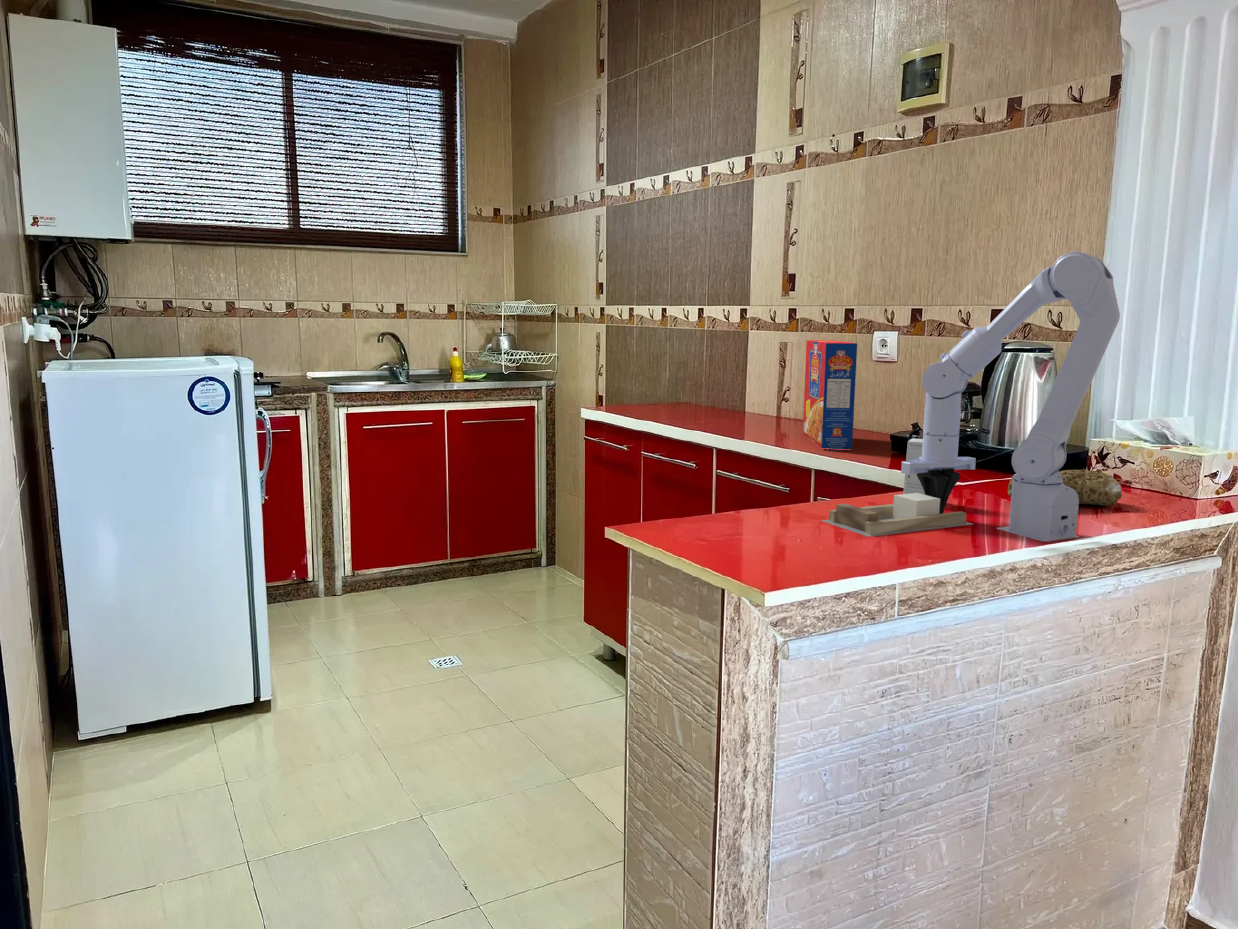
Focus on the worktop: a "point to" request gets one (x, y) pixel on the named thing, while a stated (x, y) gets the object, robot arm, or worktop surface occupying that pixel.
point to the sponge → (1089, 486)
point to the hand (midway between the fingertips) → (935, 513)
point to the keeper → (915, 505)
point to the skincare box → (912, 481)
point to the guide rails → (870, 524)
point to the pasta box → (829, 393)
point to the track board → (889, 532)
